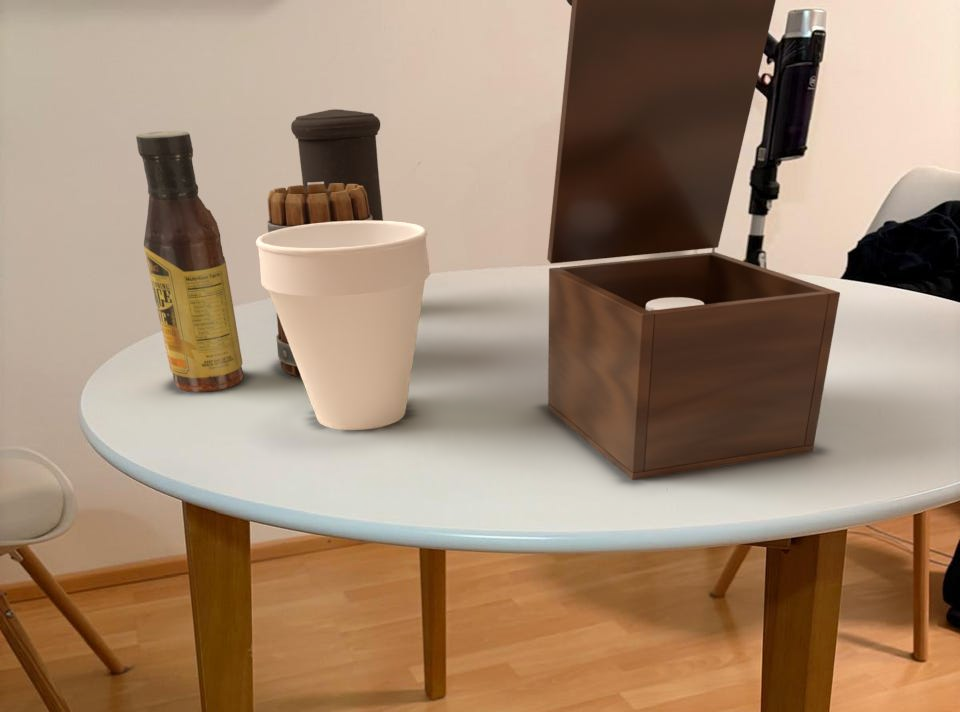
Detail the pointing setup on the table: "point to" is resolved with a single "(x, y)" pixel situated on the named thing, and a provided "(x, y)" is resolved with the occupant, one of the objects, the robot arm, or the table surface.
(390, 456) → the table surface
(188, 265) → the sauce bottle
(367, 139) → the container
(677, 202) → the lid
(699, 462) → the chest
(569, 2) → the robot arm
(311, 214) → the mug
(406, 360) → the white flower pot
